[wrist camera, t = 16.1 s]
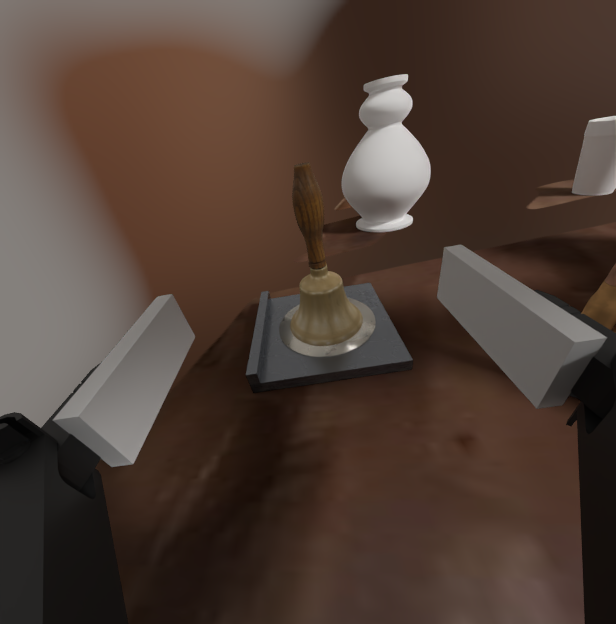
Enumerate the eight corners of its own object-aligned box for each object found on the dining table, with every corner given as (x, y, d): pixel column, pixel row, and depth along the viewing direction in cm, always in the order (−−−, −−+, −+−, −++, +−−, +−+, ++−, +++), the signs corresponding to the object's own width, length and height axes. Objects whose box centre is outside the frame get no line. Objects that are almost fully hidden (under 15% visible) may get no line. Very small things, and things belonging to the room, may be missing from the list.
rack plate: (370, 290, 36) (369, 274, 35) (411, 369, 24) (414, 349, 22) (265, 307, 37) (261, 292, 35) (253, 393, 24) (245, 375, 23)
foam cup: (565, 186, 60) (591, 118, 53) (623, 186, 55) (661, 109, 47) (559, 197, 55) (587, 123, 48) (623, 197, 50) (666, 114, 42)
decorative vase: (330, 226, 63) (316, 96, 49) (385, 208, 69) (387, 87, 55) (381, 243, 50) (382, 69, 36) (443, 218, 55) (466, 61, 41)
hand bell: (364, 345, 25) (356, 160, 16) (283, 347, 27) (236, 179, 18) (362, 300, 32) (355, 150, 23) (297, 303, 34) (268, 165, 25)
